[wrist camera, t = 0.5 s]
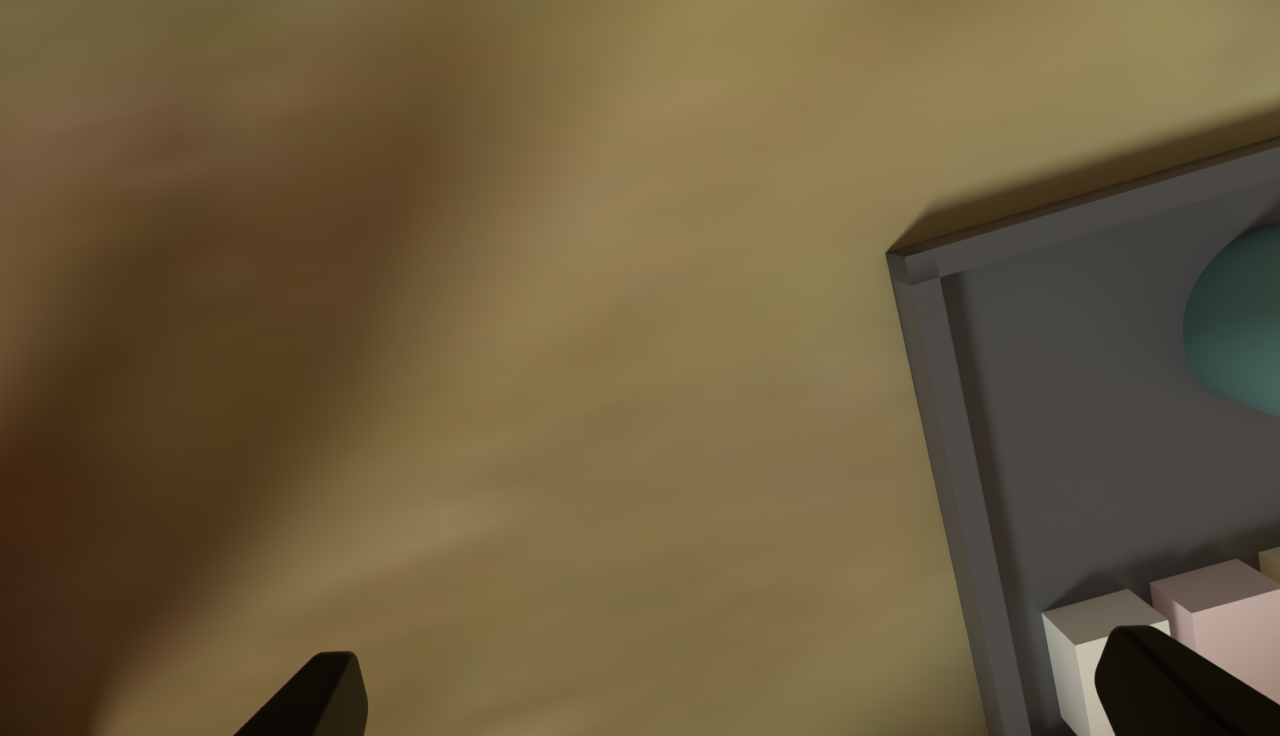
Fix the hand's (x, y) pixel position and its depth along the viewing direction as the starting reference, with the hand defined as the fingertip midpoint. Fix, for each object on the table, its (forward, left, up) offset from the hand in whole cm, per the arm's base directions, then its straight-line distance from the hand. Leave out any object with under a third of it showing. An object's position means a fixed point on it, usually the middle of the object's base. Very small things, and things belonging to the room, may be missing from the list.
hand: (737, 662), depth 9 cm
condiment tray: (-7, -15, -14) cm, 21 cm away
